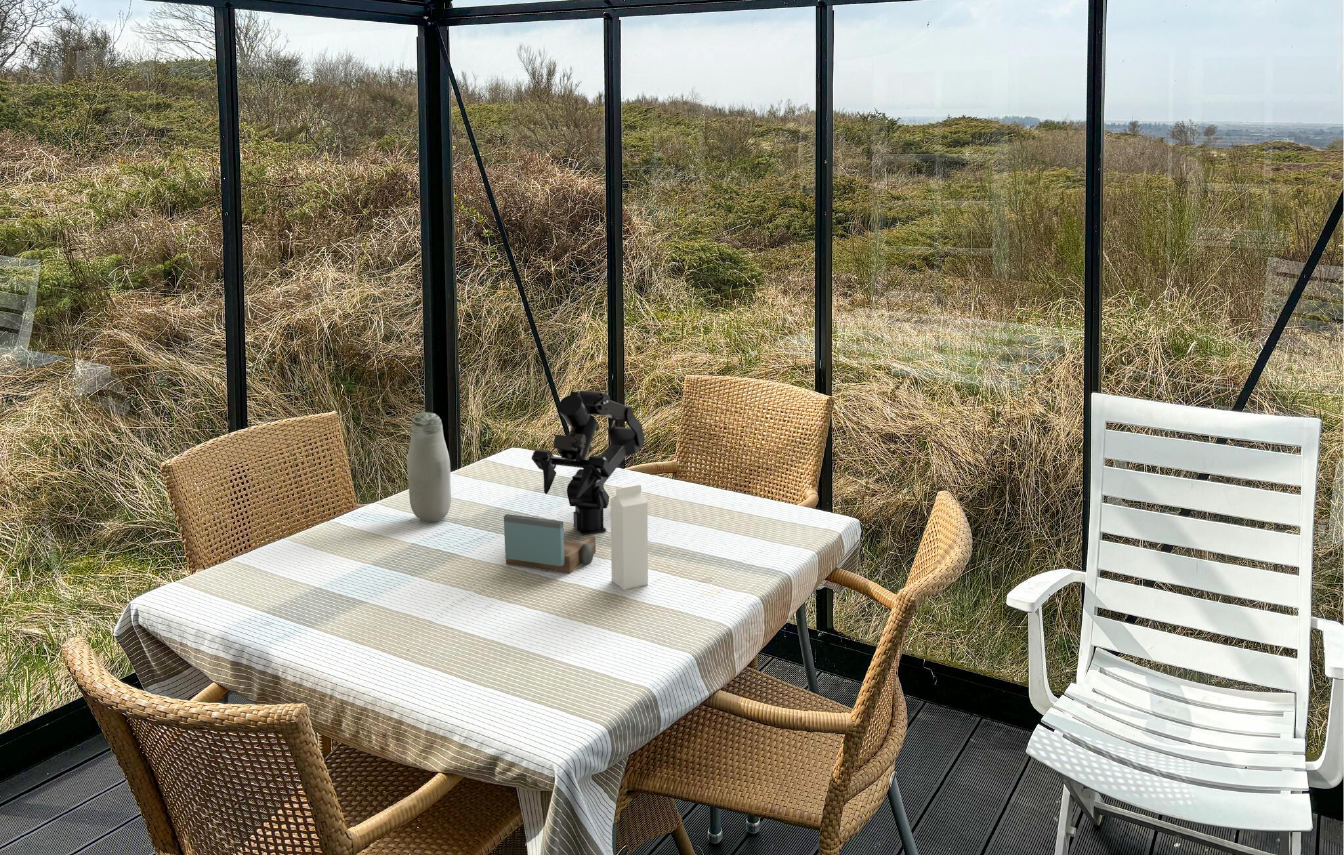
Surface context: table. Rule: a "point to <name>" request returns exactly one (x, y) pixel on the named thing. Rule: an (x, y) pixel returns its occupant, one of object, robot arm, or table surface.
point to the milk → (629, 538)
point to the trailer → (565, 557)
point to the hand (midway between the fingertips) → (561, 495)
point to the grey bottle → (428, 469)
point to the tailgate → (534, 539)
